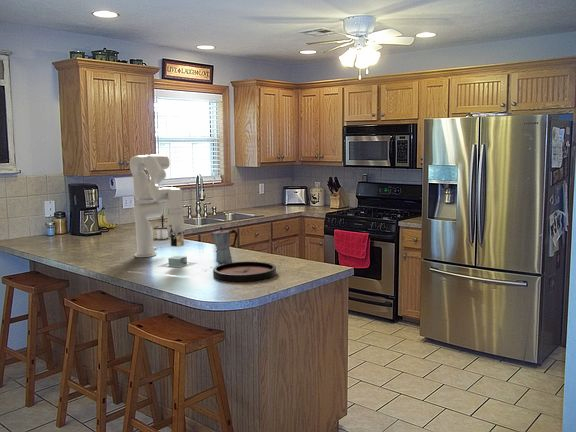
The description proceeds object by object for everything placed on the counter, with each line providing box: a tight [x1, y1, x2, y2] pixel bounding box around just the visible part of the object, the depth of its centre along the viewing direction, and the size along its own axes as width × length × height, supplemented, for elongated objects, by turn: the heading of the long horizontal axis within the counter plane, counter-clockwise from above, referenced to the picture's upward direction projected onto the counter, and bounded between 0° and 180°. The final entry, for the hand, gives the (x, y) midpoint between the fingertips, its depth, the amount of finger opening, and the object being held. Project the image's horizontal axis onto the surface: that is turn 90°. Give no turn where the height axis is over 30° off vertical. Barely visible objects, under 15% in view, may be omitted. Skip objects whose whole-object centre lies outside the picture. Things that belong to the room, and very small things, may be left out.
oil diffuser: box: [153, 214, 169, 240], centre depth 398 cm, size 26×24×17 cm
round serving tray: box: [212, 260, 277, 284], centre depth 280 cm, size 31×4×31 cm
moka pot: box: [209, 226, 239, 265], centre depth 309 cm, size 10×15×20 cm, turn 111°
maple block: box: [169, 233, 185, 248], centre depth 301 cm, size 5×5×6 cm
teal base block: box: [168, 255, 188, 266], centre depth 302 cm, size 7×7×4 cm
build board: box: [157, 261, 198, 269], centre depth 302 cm, size 15×16×1 cm
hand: (177, 244), depth 301 cm, fingers closed on maple block, 5 cm apart
